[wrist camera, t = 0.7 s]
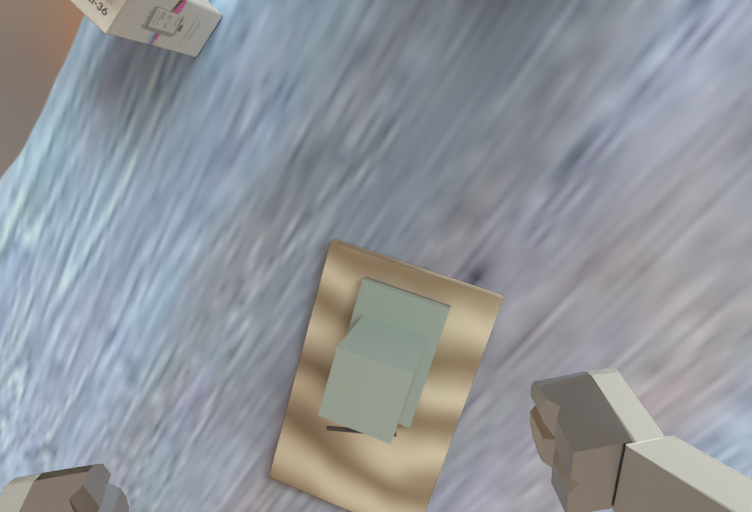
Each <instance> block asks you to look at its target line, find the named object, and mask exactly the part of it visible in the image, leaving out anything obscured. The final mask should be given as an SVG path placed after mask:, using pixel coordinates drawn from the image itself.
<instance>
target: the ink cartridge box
mask: <svg viewBox="0 0 752 512" xmlns="http://www.w3.org/2000/svg"><path fill="white" fill-rule="evenodd" d="M70 1H71V2H72V3H73V4H74V5H75V6H76V7H77V8H78V9H80V10H81V11H82V12H83V13H84V14H85V15H86V16H87V17H88V18H89V19H90V20H91V21H92V22H93V23H94V24H95V25H96V26H97V27H98V28H100V29H101V30H102V31H103V32H104V33H105V34H110V35H114V36H118V37H122V38H126V39H130V40H134V41H137V42H141V43H145V44H149V45H153V46H157V47H160V48H164V49H168V50H171V51H175V52H179V53H183V54H187V55H190V56H194V57H197V55H198V54H199V52H200V51H201V49H202V47H203V46H204V44H205V43H206V41H207V40H208V38H209V36H210V35H211V33H212V32H213V30H214V28H215V27H216V25H217V24H218V22H219V21H220V19H221V17H222V14H221V13H220V12H219V11H218V10H217V9H216V8H215V7H214V6H213V5H212V4H211V3H210V2H208V1H207V0H70Z"/></svg>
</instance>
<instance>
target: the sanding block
mask: <svg viewBox="0 0 752 512" xmlns="http://www.w3.org/2000/svg"><path fill="white" fill-rule="evenodd" d="M450 307H451V305H448V304H445V303H442V302H439V301H436V300H433V299H430V298H427V297H424V296H422V295H419V294H416V293H413V292H410V291H407V290H404V289H401V288H398V287H395V286H393V285H390V284H387V283H384V282H381V281H378V280H375V279H372V278H369V277H365V278H364V279H363V280H362V283H361V287H360V290H359V294H358V297H357V301H356V304H355V308H354V311H353V315H352V318H351V322H350V325H349V329H348V332H347V336H346V337H345V338H344V339H343V341H342V342H341V343H340V344H339V345H338V347H337V349H336V353H335V357H334V360H333V364H332V367H331V371H330V374H329V378H328V381H327V385H326V388H325V392H324V396H323V399H322V403H321V406H320V410H319V413H318V416H321V417H323V418H326V419H328V420H331V421H333V422H336V423H338V424H341V425H343V426H346V427H349V428H351V429H354V430H356V431H359V432H361V433H364V434H366V435H369V436H371V437H374V438H376V439H379V440H381V441H384V442H386V443H389V444H391V442H392V439H393V437H394V434H395V431H396V429H397V426H398V424H400V425H402V426H405V427H407V428H410V426H411V423H412V420H413V417H414V414H415V411H416V408H417V405H418V402H419V399H420V396H421V393H422V390H423V387H424V384H425V381H426V378H427V375H428V372H429V369H430V366H431V363H432V360H433V358H434V355H435V352H436V349H437V346H438V343H439V340H440V337H441V334H442V331H443V328H444V325H445V322H446V319H447V316H448V313H449V310H450Z"/></svg>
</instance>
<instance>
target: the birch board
mask: <svg viewBox="0 0 752 512" xmlns="http://www.w3.org/2000/svg"><path fill="white" fill-rule="evenodd" d="M365 277H369V278H372V279H375V280H378V281H381V282H384V283H387V284H390V285H393V286H395V287H398V288H401V289H404V290H407V291H410V292H413V293H416V294H419V295H422V296H424V297H427V298H430V299H433V300H436V301H439V302H442V303H445V304H448V305H451V307H450V310H449V313H448V316H447V319H446V322H445V325H444V328H443V331H442V334H441V337H440V340H439V343H438V346H437V349H436V352H435V355H434V358H433V360H432V363H431V366H430V369H429V372H428V375H427V378H426V381H425V384H424V387H423V390H422V393H421V396H420V399H419V402H418V405H417V408H416V411H415V414H414V417H413V420H412V423H411V426H410V428H407V427H405V426H402V425H400V424H398V426H397V429H396V431H395V434H394V437H393V439H392V442H391V444H389V443H386V442H384V441H381V440H379V439H376V438H374V437H371V436H369V435H366V434H364V433H361V432H359V431H356V430H354V429H351V428H349V427H346V426H343V425H341V424H338V423H336V422H333V421H331V420H328V419H326V418H323V417H321V416H318V413H319V410H320V406H321V403H322V399H323V396H324V392H325V388H326V385H327V381H328V378H329V374H330V371H331V367H332V364H333V360H334V357H335V353H336V349H337V347H338V345H339V344H340V343H341V342H342V341H343V339H344V338H345V337H346V336H347V332H348V329H349V325H350V322H351V318H352V315H353V311H354V308H355V304H356V301H357V297H358V294H359V290H360V287H361V283H362V280H363V279H364V278H365ZM502 301H503V295H501V294H498V293H495V292H492V291H489V290H486V289H483V288H480V287H477V286H474V285H471V284H468V283H465V282H462V281H459V280H456V279H453V278H450V277H447V276H444V275H441V274H438V273H435V272H432V271H429V270H426V269H423V268H420V267H417V266H414V265H411V264H408V263H405V262H402V261H399V260H396V259H393V258H390V257H387V256H384V255H381V254H378V253H375V252H372V251H369V250H367V249H364V248H361V247H358V246H355V245H352V244H349V243H346V242H343V241H340V240H337V239H335V240H333V241H332V242H331V243H330V247H329V250H328V254H327V258H326V262H325V266H324V269H323V273H322V277H321V281H320V285H319V288H318V292H317V296H316V300H315V304H314V308H313V311H312V315H311V319H310V323H309V327H308V330H307V334H306V338H305V342H304V346H303V349H302V353H301V357H300V361H299V365H298V368H297V372H296V376H295V380H294V384H293V388H292V391H291V395H290V399H289V403H288V407H287V410H286V414H285V418H284V422H283V426H282V429H281V433H280V437H279V441H278V445H277V449H276V452H275V456H274V460H273V464H272V468H271V471H270V475H269V477H271V478H273V479H276V480H278V481H280V482H283V483H285V484H287V485H290V486H292V487H295V488H297V489H299V490H302V491H304V492H306V493H309V494H311V495H313V496H316V497H318V498H321V499H323V500H325V501H328V502H330V503H332V504H335V505H337V506H340V507H342V508H344V509H347V510H349V511H351V512H426V509H427V506H428V503H429V501H430V498H431V495H432V492H433V490H434V487H435V484H436V481H437V479H438V476H439V473H440V470H441V468H442V465H443V462H444V460H445V457H446V454H447V451H448V449H449V446H450V443H451V440H452V438H453V435H454V432H455V429H456V427H457V424H458V421H459V418H460V416H461V413H462V410H463V407H464V405H465V402H466V399H467V397H468V394H469V391H470V388H471V386H472V383H473V380H474V377H475V375H476V372H477V369H478V366H479V364H480V361H481V358H482V355H483V353H484V350H485V347H486V345H487V342H488V339H489V336H490V334H491V331H492V328H493V325H494V323H495V320H496V317H497V314H498V312H499V309H500V306H501V303H502Z"/></svg>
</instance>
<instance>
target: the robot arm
mask: <svg viewBox="0 0 752 512" xmlns="http://www.w3.org/2000/svg"><path fill="white" fill-rule="evenodd" d="M531 397H532V399H533V401H534V403H535V407H534V408H533V409H532V410H531V411H530V425H531V430H532V435H533V439H534V442H535V445H536V448H537V451H538V453H539V455H540V458H541V460H542V461H543V462H544V463H546V464H547V465H549V466H550V467H551V468H552V479H551V483H552V485H553V487H554V489H555V491H556V494H557V496H558V498H559V500H560V502H561V505H562V507H563V509H564V511H565V512H591V511H597V510H603V509H609V508H613V511H614V512H752V479H750V478H748V477H746V476H744V475H743V474H741V473H739V472H737V471H736V470H734V469H732V468H730V467H728V466H727V465H725V464H723V463H721V462H720V461H718V460H716V459H714V458H712V457H711V456H709V455H707V454H705V453H704V452H702V451H700V450H698V449H697V448H695V447H693V446H691V445H689V444H688V443H686V442H684V441H682V440H681V439H679V438H677V437H675V436H673V435H672V436H664V435H663V433H662V432H661V430H660V429H659V428H658V426H657V425H656V424H655V422H654V421H653V419H652V418H651V417H650V415H649V414H648V412H647V411H646V410H645V408H644V407H643V405H642V404H641V403H640V401H639V400H638V398H637V397H636V396H635V394H634V393H633V391H632V390H631V389H630V387H629V386H628V384H627V383H626V382H625V380H624V379H623V378H622V376H621V375H620V373H619V372H618V371H617V370H616V369H614V368H613V367H608V368H603V369H598V370H592V371H587V372H579V373H574V374H569V375H564V376H560V377H555V378H550V379H545V380H540V381H535V382H533V384H532V386H531ZM110 475H111V474H110V472H109V471H108V470H107V469H106V467H105V466H104V465H103V464H95V465H89V466H83V467H76V468H70V469H64V470H58V471H51V472H45V473H40V474H34V475H28V476H23V477H17V478H14V479H13V480H12V481H11V482H10V483H9V484H8V485H6V487H5V489H4V490H3V492H2V494H1V496H0V512H129V506H128V502H127V499H126V496H125V494H124V493H123V491H122V490H121V488H118V487H116V486H114V485H111V484H109V483H108V481H109V478H110Z"/></svg>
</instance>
